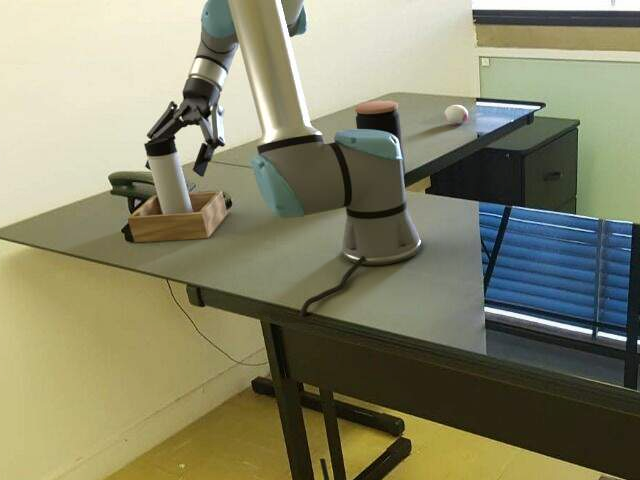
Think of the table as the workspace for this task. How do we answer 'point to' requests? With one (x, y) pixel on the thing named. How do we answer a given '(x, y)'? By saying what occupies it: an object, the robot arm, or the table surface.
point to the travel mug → (168, 175)
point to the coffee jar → (380, 119)
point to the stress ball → (456, 114)
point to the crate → (178, 219)
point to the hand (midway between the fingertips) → (173, 171)
